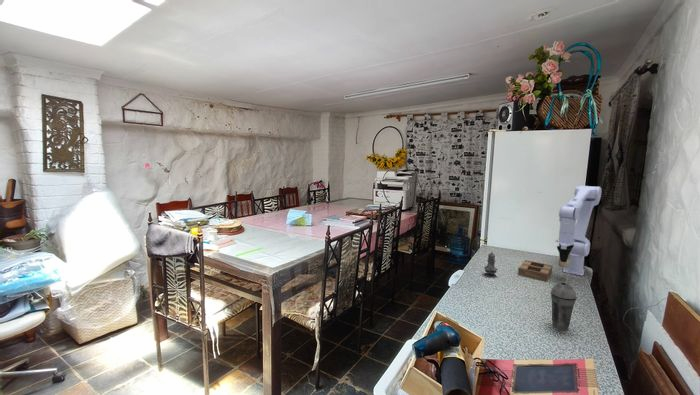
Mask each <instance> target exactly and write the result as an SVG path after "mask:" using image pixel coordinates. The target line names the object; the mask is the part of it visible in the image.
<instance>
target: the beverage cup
mask: <svg viewBox="0 0 700 395" xmlns="http://www.w3.org/2000/svg"><path fill="white" fill-rule="evenodd" d="M570 275H571V273H570V271H568V273H567V275H566V279H565V280H566V281H565V282H559V283H555V284H554V285H552V288H551V291H550V298H551V324H552V327H553V328H554V329H556V330H560V331H562V332H563V331H564V332H565V331H568V330H569V326H570V323H571V319H572V314H573V310H574V307H575V306H574V305H575V303H576V300H577V292H576V290H575V288H574V287H573V286H572V285H570V284H569V283H568V282H569V280H570V279H569V278H570Z"/></svg>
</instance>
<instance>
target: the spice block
mask: <svg viewBox="0 0 700 395" xmlns="http://www.w3.org/2000/svg"><path fill="white" fill-rule="evenodd" d="M553 268H554V266H553V265H552V264H547V263H541V262H536V261H532V260H528V259H525V260H524V261H523V263H521V264H520V266H519V267H518V269H517V270H518V271H517V276H522V277H525V278H529V279H535V280H539V281H543V282H547V281H548V280H549V279H550V277H551V275H552V273H553Z"/></svg>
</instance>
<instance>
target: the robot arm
mask: <svg viewBox="0 0 700 395" xmlns="http://www.w3.org/2000/svg"><path fill="white" fill-rule="evenodd" d="M602 192H603V191H602V187H601V186H595V185H594V186H591V185H590V186H589V185H580V184H579V185H576V186H575V188H574V192H573V193H574V197H572V198H571V199H569V200H568V202H567V203H566V204H565V205H563V206H561V207H560V208H559V209H558V210H559V212H558V217H559V220H558V221H559V232H558V239H555V243H558V245H556V248H557V252H558V256H559V255H560V261H561V262H566V261H567V259H568V255H569V253H570V259H569V267H563V270H562V272H563V273H566V274H568V271H570V275H577V276H582V277H583V276H584V273H585V269H584V265H585V264H584V262H585V257H587V256H588V255H589V254H590V249H591V242H590V240H589V239H588V238H587V237H586V235H587V234H586V233H587V230H588V228H589V222H590V219H591V215H592V212H593V209H594V207H595V206H597V205H598V206H599V203H600V200H601V197H602Z"/></svg>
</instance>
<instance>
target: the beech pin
mask: <svg viewBox="0 0 700 395" xmlns="http://www.w3.org/2000/svg"><path fill="white" fill-rule="evenodd" d="M569 259H570V253H569V255H568V259H567V261H566V262H561V261H560V255H559V254H558V266H559V267H562V268H565V267H569Z"/></svg>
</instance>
